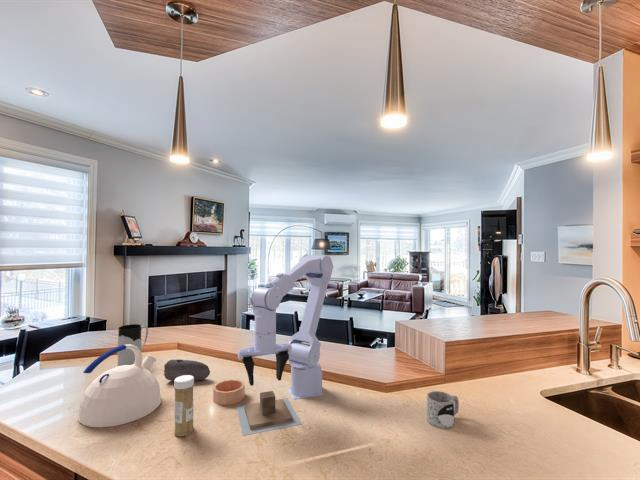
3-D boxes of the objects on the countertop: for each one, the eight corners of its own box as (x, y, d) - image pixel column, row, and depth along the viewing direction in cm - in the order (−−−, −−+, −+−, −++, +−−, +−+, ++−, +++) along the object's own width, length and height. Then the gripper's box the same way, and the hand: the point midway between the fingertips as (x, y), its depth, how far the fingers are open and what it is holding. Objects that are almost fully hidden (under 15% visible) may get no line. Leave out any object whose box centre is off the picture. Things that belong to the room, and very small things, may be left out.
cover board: (282, 402, 96) (282, 383, 96) (292, 421, 86) (292, 400, 86) (244, 408, 92) (244, 389, 92) (250, 429, 82) (250, 407, 82)
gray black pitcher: (110, 369, 122) (110, 329, 122) (137, 356, 136) (138, 320, 136) (131, 371, 121) (131, 330, 121) (156, 357, 135) (157, 321, 135)
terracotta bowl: (242, 390, 105) (242, 377, 105) (246, 403, 96) (246, 389, 96) (212, 394, 102) (212, 382, 102) (213, 408, 93) (213, 394, 93)
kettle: (177, 399, 99) (177, 339, 99) (108, 436, 80) (109, 362, 80) (132, 387, 107) (133, 332, 108) (60, 417, 89) (61, 350, 89)
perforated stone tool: (212, 377, 115) (212, 357, 115) (207, 383, 110) (207, 363, 110) (169, 377, 115) (169, 357, 115) (162, 383, 110) (162, 362, 110)
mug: (441, 431, 82) (441, 405, 82) (421, 419, 88) (421, 394, 88) (468, 422, 87) (468, 396, 87) (448, 410, 93) (448, 386, 93)
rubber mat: (287, 399, 99) (287, 398, 99) (302, 425, 85) (302, 423, 85) (236, 408, 94) (236, 406, 94) (242, 437, 79) (242, 435, 79)
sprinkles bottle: (195, 433, 81) (195, 379, 81) (175, 439, 79) (176, 383, 79) (191, 425, 85) (191, 372, 85) (172, 430, 82) (172, 376, 83)
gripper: (285, 325, 96) (285, 371, 96) (235, 331, 90) (235, 380, 90) (294, 331, 90) (294, 381, 90) (240, 337, 84) (240, 391, 84)
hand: (265, 381), depth 89 cm, fingers open, 7 cm apart
